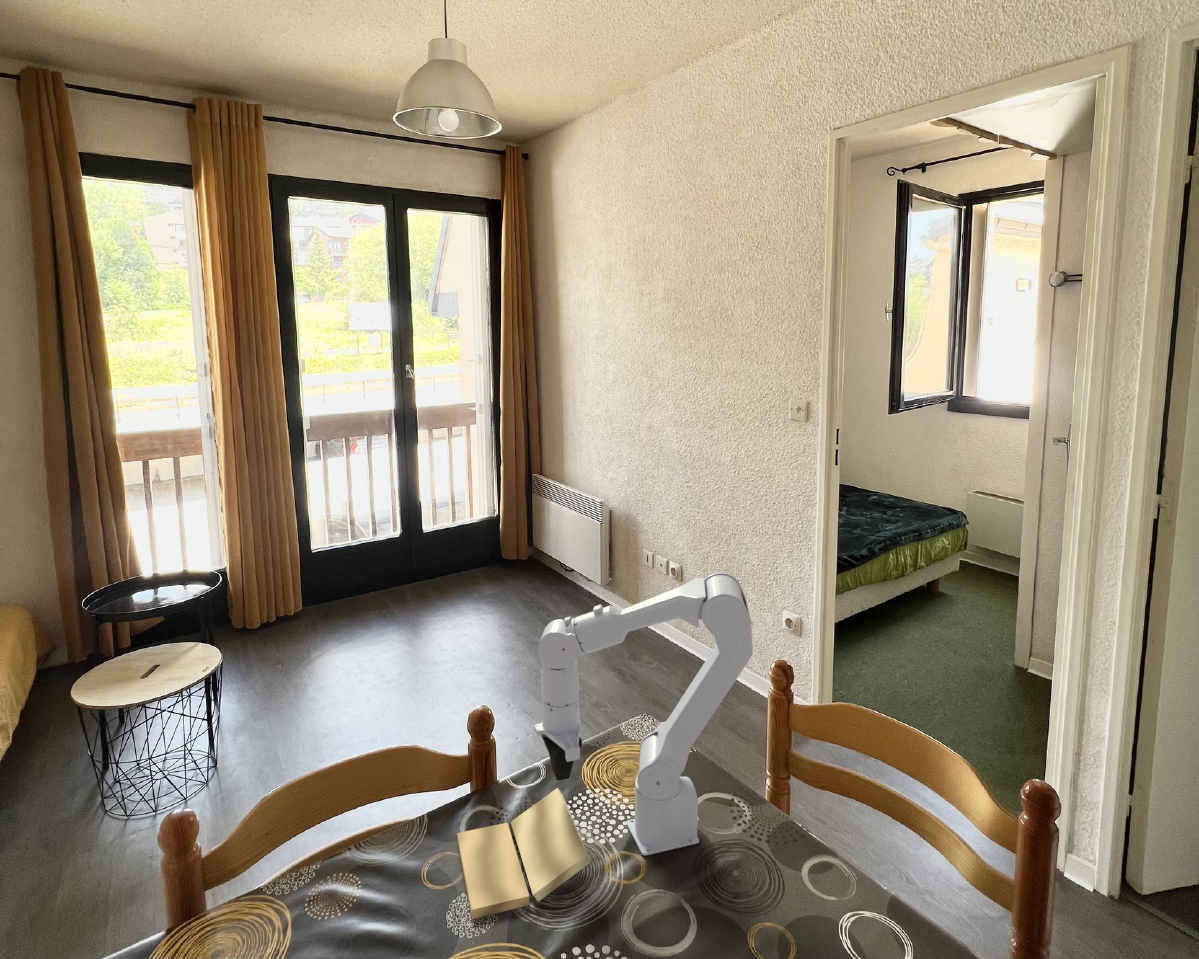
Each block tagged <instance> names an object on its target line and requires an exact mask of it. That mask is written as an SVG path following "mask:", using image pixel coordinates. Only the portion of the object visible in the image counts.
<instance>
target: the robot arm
mask: <svg viewBox="0 0 1199 959" xmlns="http://www.w3.org/2000/svg"><path fill="white" fill-rule="evenodd" d="M592 610H593V611H589V612H587V613H584V614H581V615H578V616H575V617H572V616H566V617H565V618H564V619H562V618H560V619H554V620H552V621H550V622H549V623H548V624H547V626H545V628H544V630H543V632H542V634H541V638H540V640H539V642H538V646H537V655H538V658H539V660H540V661H541V672H540V677H541V679H540V681H541V682H540V684H541V686H540V687H541V722H539V723H536V724H535V725H534V730H535V734H537V735H539V736H541V738H542V741H544V742H543V743H544V745H545V748H546V750H547V752H548V755H549V756H548V757H549V761H550V765H551V768H552V772H553V774H554V777H555V780H556V781H564V780H568V779H570V777H571V775H572V774H571V773H572V770H573V766H574V761H578V760H581V748H582V746H583V740H582V739H581V736H580V735H581V734H580V733H581V721H580V696H579V695H580V692H579V691H580V687H579V686H580V684H579V682H580V681H579V678H580V677H579V674H580V672H579V666H578V658H579V657H581V656H586V655H588V654H591V653H595V652H597V651H600V650H604V649H607V648H609V647H610V648H611V647H613V646H617V645H619V644H621V643H623V642H624V641H625V639H626V636H627V634H628V633H629V632H633V631H637V630H639V629H640V630H641V629H644V628H647V627H652V626H654V625H658V624H662V623H665V622H670V621H674V620H677V619H680V620H682V621H684V622H686V623H688V624H690V625H692V626H693V627H696V628H700V622H699V620H700V621H702V623H703V625H704V627H706V629H707V631H708V632H709V634H711V636H713V637H714V641H715V646H714V647H713V649H712V651H711V652H710V653H709V655H708V656H707V658H706V660H705V661H704V662H703V665H702V666H701V668H700V669H699V671H698V672H697V673H696V675H695V677H694V678H693V680H692V681H691V683H690V684H689V686H688V688H687V689H686V690H685V692H684V694H683V695H682V697H681V698H680V699H679V701H678V703H677V705H676V706H675V708H674V709H673V710H672V712H671V713H670V714H669V716H668V718H667V719H666V721H661V722H659V724H658V726H657V727H656V728H655V729H654V730H653V731H651V732H649V733H647V734H646V735H645V736H644V737H643V738H642V740H641V741H640V744H639V762H638V763H639V766H638V767H639V768H638V773H637V776H636V777H635V785H634V788H635V790H634V792H635V793H634V810H635V811H634V818H633V819H628V820H626V822H625V824H626V826H627V829H628V830H629V832H630V834H631V836H632V838H633V840H634V842H635V843H636V845H637V847H638V849H639V851H640V853H641V855H643V856H650V855H654V854H660V853H663V852H666V851H671V850H675V849H680V848H683V847H687V846H693V845H696V844H699V843H700V838H699V837H698V822H699V821H698V818H699V801H698V796H697V791H696V788H695V786H694V783H693V781H692V780H691V778H690V777H688V776H682V773H683V772H684V770H685V769H686V766H687V762H688V759H689V755H690V751H691V749H692V746H693V745H694V743H695V742H696V740H697V739H698V737H699V736H700V734H701V733H702V732H703V730H704V728H705V727H706V725H707V724H708V722H709V721H710V720H711V718H712V716H713V715H714V713H715V712H716V710H717V709H718V707H719V706H720V704H722V702H723V700H724V698H725V697H726V695H727V694H728V693H729V691H730V689H731V688H732V687H733V686H734V684H735V682H736V681H737V679H738V678H739V677H740V674H741V673H742V672H743V670H744V669H745V667H746V666H747V664H748V662H749V661H750V659H751V658H752V655H753V635H752V634H753V633H752V632H753V631H752V625H753V624H752V623H753V621H752V619H751V615H750V611H749V607H748V601H747V598H746V595H745V593H744V591H743V588H742V586H741V584H740V582H739V581H738V579H737V578H736V577H734V576H733V575H732V574H729V573H727V572H720V571H719V572H715V573H711V574H710V575H708V576H706V577H705V578H704V576H702V577H696V578H694V579H692V580H691V581H688V582H686V583H684V584H682V585H681V586H678V587H675V588H672V589H671V590H668V591H666V592H663V593H660V594H658V595H656V596H652V597H651V598H648V599H646V600H643V601H641V602H638V603H636V604H632V605H630V606H629V607H626V608H623V609H620V608H618V607H616V606H613V605H611V604H610V605H607V606H604V607H603V604H598V605H595V606H593V609H592Z"/></svg>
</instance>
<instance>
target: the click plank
mask: <svg viewBox="0 0 1199 959" xmlns="http://www.w3.org/2000/svg"><path fill="white" fill-rule="evenodd" d="M510 824H511V828H512V831H513V835H514V837H515V841H516V844H517V846H518V851H519V855H520V857H521V860H522V864H523V867H524V870H525V874H526V877H527V879H528V880H527V881H528V883H529V887H530V890H531V894H532V897H534V898H535V900H536V901H537V902H540V901H542V899H544V898H546V896H548V895H549V894H551V893H552V892H553V891H554V890H556V889H557V888H559V887H560V886H561V885H562V884H564V883H565V882H567V880H569V879H571V878H572V877H573V876H575V875H576V874H577V873H578V872H579V871H581V870H582V869H584V868H586V866H588V865H589V864H590V863H592V861H591V858H590V856H589V853H588V851H587V849H586V846H585V844H584V841H583V839H582V837H581V834H580V832H579V830H578V828H577V825H576V824H575V820H574V818H573V816H572V813H571V812H570V809H569V807H568V804H567V802H566V799H565V797H564V795H563V793H562V792H561V790H560V789H559V788H558V787H556V788H555V789H554V790H552V791H551V792H550V793H547V795H546V796H544V797H543V798H541V799H540V800H539V801H537V802H536V803H534V804H533V805H532V806H531V807H529V808H528V809H526V810H525V811H523V812H522V813H521V814H519V815H518V816H517V817H516V818H514V819H512V820H511V821H510Z"/></svg>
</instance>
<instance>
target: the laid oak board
mask: <svg viewBox="0 0 1199 959" xmlns="http://www.w3.org/2000/svg"><path fill="white" fill-rule="evenodd" d="M456 839H457V847H458V852H459V858H460V863H461V868H462V872H463V880H464V883H465V889H466V894H467V898H468V904H469V909H470V914H471V919H472V920H474V919H478V918H482V917H486V916H491V915H495V914H498V913H502V912H507V911H511V910H512V911H513V910H515V909H519V908H520V909H521V908H524V907H527V906H530V893H529V891H528V887H527V884H526V880H525V877H524V874H523V871H522V870H523V869H522V867H521V864H520V859H519V857H518V853H517V850H516V845H515V843H514V840H513V836H512V833H511V831H510V825H509V823H508V822H505V823H503V822H502V823H498V824H494V825H490V826H485V827H480V828H475V829H470V830H466V831H460V832H456Z"/></svg>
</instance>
